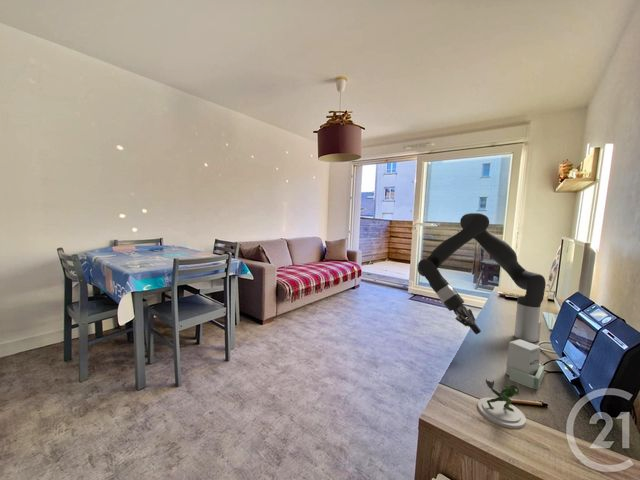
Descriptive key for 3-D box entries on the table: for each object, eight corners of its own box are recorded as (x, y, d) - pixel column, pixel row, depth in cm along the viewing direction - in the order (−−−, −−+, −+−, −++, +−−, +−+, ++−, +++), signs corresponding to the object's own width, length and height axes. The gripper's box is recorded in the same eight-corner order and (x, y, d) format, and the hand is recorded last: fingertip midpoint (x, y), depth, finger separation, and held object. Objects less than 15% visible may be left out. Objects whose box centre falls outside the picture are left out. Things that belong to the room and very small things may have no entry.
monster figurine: (523, 435, 74) (527, 399, 73) (473, 413, 82) (476, 380, 81) (527, 412, 83) (530, 380, 82) (481, 395, 91) (484, 365, 90)
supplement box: (526, 384, 97) (530, 350, 96) (505, 373, 104) (507, 341, 103) (538, 379, 100) (541, 346, 99) (516, 369, 107) (519, 338, 106)
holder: (509, 379, 100) (510, 369, 100) (517, 366, 109) (518, 357, 109) (537, 390, 94) (538, 379, 94) (543, 375, 103) (544, 365, 103)
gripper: (450, 295, 115) (481, 333, 107) (462, 290, 124) (491, 324, 116) (437, 305, 119) (465, 341, 111) (449, 299, 128) (476, 332, 120)
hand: (478, 332), depth 114 cm, fingers closed
